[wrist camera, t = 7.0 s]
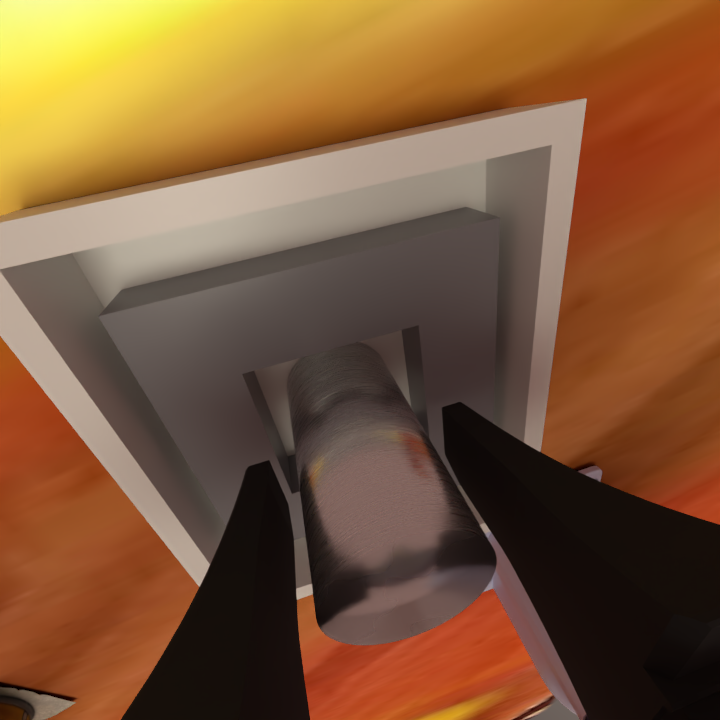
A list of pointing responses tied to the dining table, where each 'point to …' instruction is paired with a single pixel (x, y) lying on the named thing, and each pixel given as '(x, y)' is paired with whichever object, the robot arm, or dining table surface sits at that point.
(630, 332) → the dining table surface
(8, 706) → the condiment
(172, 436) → the box
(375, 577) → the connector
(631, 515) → the robot arm
